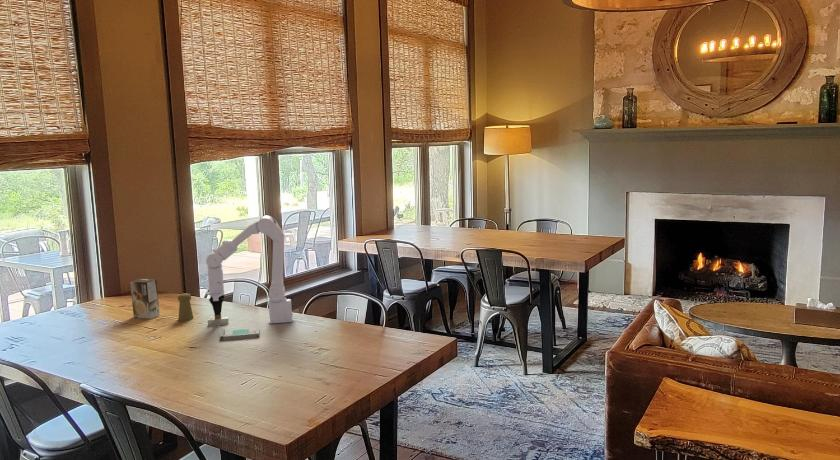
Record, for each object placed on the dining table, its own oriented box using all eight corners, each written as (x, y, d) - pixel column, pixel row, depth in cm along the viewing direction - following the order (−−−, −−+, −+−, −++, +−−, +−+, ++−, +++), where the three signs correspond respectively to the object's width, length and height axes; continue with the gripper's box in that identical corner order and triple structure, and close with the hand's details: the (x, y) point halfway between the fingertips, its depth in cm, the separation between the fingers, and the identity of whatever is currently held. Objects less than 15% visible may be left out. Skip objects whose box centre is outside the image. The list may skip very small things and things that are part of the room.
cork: (190, 320, 266) (188, 295, 265) (176, 321, 266) (174, 295, 265) (195, 316, 272) (193, 291, 271) (181, 316, 272) (179, 292, 271)
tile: (248, 332, 251) (248, 329, 251) (248, 337, 246) (248, 333, 245) (233, 334, 250) (232, 330, 250) (232, 338, 244) (232, 334, 244)
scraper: (228, 322, 263) (227, 304, 262) (228, 324, 261) (227, 305, 260) (208, 324, 261) (207, 305, 260) (208, 326, 259) (206, 307, 258)
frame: (259, 329, 254) (259, 325, 253) (259, 337, 244) (259, 333, 244) (221, 332, 250) (221, 328, 250) (220, 340, 240) (220, 336, 240)
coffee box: (160, 315, 276) (157, 279, 273) (150, 319, 270) (147, 282, 267) (143, 313, 278) (140, 277, 276) (132, 317, 272) (129, 281, 270)
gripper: (207, 278, 264) (209, 309, 266) (204, 286, 250) (206, 319, 253) (224, 277, 266) (226, 308, 268) (222, 285, 252) (224, 318, 254)
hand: (218, 313), depth 261 cm, fingers open, 3 cm apart
